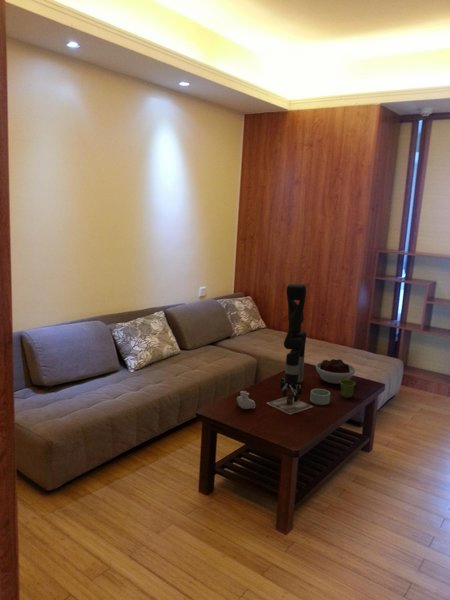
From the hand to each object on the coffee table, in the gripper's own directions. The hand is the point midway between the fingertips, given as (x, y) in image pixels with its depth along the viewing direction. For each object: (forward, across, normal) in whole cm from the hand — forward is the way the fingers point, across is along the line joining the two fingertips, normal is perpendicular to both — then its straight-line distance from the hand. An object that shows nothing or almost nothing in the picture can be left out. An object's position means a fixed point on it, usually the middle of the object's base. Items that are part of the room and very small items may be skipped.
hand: (289, 399), depth 274 cm
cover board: (+3, 0, 0) cm, 3 cm away
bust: (+4, -12, -23) cm, 26 cm away
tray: (+4, 0, 0) cm, 4 cm away
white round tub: (+4, -12, +55) cm, 56 cm away
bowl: (+4, +6, +19) cm, 20 cm away
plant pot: (+4, +9, +40) cm, 41 cm away
